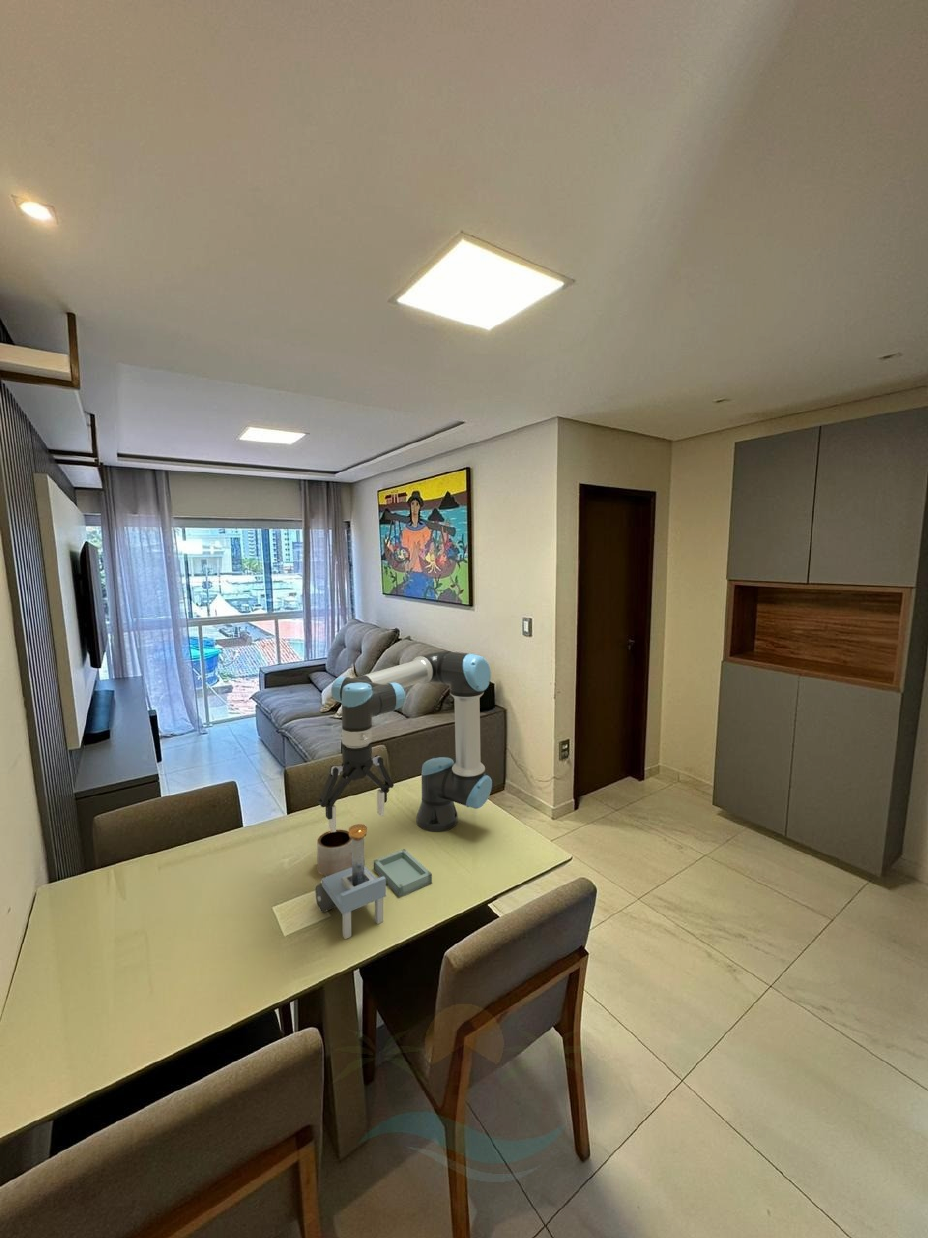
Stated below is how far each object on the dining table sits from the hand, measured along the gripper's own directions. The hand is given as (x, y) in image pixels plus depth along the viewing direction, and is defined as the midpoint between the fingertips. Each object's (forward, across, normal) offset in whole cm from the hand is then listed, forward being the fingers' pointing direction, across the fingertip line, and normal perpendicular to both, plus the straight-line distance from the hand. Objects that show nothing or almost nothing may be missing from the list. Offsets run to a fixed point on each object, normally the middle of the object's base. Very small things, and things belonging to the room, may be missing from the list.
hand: (357, 822), depth 129 cm
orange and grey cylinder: (+18, 0, 0) cm, 18 cm away
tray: (+26, +18, +8) cm, 33 cm away
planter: (+27, +4, +24) cm, 36 cm away
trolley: (+26, -1, +2) cm, 27 cm away
